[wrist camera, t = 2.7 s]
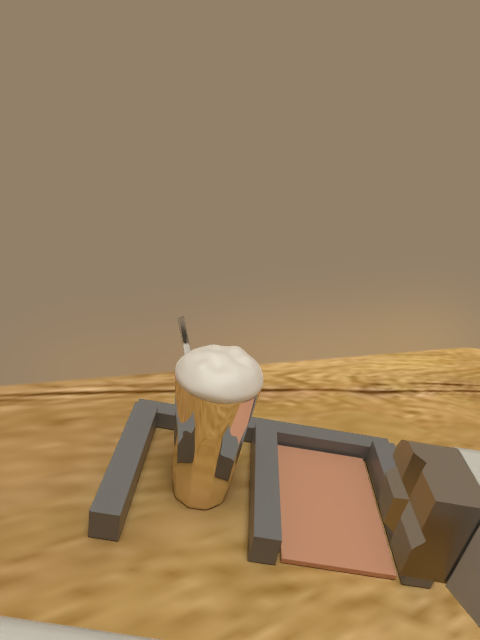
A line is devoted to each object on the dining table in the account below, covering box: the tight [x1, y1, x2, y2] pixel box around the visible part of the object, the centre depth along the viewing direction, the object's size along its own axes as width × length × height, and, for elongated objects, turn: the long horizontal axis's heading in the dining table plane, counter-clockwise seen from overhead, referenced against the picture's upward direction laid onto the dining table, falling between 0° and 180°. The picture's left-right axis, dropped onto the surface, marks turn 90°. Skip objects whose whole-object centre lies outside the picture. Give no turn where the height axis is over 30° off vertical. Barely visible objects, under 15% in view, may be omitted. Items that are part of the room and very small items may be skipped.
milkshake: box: [172, 316, 263, 510], centre depth 25 cm, size 4×5×10 cm
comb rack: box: [88, 399, 434, 588], centre depth 27 cm, size 18×10×2 cm, turn 88°
